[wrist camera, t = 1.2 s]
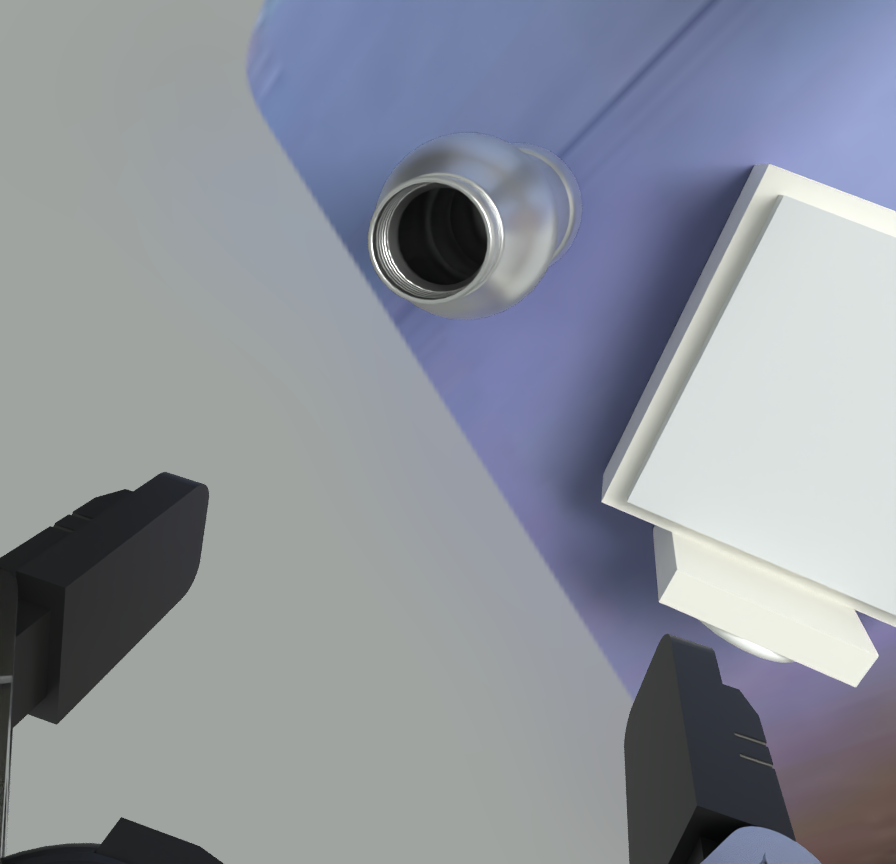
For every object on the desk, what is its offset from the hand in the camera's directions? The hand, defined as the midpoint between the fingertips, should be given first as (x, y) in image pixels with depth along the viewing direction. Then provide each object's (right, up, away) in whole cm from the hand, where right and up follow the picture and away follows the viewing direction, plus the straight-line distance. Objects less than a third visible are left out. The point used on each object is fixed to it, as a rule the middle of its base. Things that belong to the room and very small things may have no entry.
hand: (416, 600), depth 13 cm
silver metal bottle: (+4, +15, +27) cm, 31 cm away
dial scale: (+20, +3, +27) cm, 34 cm away
